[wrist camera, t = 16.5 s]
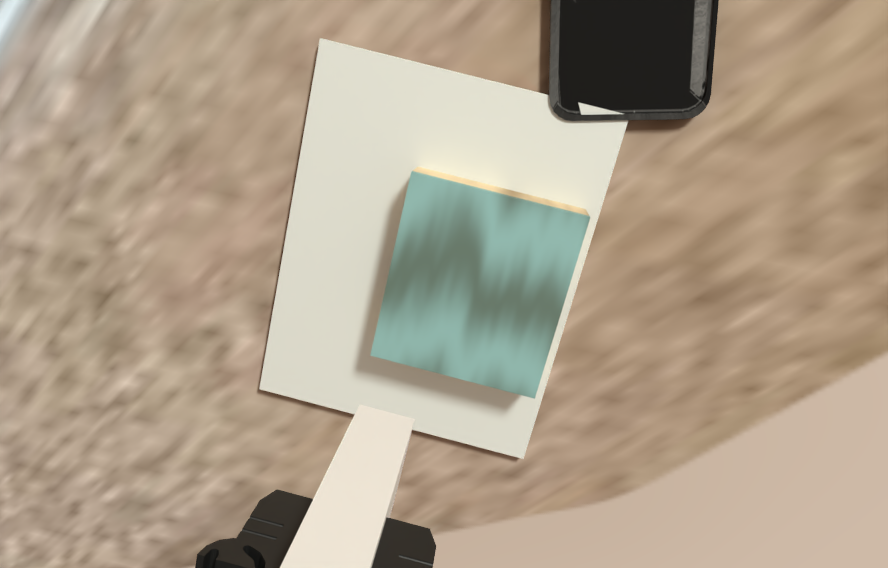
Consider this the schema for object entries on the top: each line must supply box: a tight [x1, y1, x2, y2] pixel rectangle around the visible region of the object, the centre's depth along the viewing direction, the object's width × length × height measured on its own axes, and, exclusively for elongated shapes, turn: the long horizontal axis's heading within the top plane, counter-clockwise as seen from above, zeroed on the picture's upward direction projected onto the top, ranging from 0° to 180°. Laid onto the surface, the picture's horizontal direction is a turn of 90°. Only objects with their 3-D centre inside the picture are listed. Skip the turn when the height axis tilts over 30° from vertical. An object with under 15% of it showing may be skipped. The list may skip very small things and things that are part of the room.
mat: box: [259, 38, 628, 459], centre depth 37 cm, size 16×20×1 cm
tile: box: [370, 167, 590, 399], centre depth 36 cm, size 10×2×9 cm
